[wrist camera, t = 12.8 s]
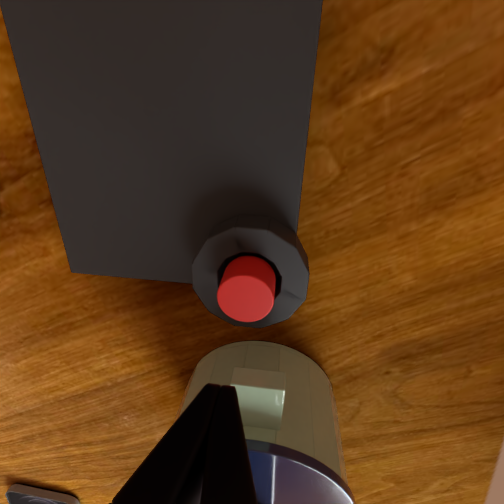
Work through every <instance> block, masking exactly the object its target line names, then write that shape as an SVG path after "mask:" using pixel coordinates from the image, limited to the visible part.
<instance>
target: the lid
mask: <svg viewBox="0 0 504 504" xmlns="http://www.w3.org/2000/svg"><path fill="white" fill-rule="evenodd" d="M246 444H247V449H248V454H249V460H250V465H251V470H252V476H253V481H254V486H255V491H256V497H257V502H258V504H356V502H355V499H354V496H353V494H352V492H351V490H350V488H349V487H348V485H347V484H346V483H345V481H344V480H343V479H342V478H341V477H340V476H339V475H338V474H337V473H336V472H335V471H333V470H332V469H330V468H329V467H328V466H326V465H325V464H323V463H322V462H320V461H318V460H316V459H315V458H313V457H311V456H309V455H306V454H304V453H302V452H300V451H297V450H294V449H291V448H288V447H285V446H282V445H278V444H274V443H270V442H264V441H259V440H252V439H246Z"/></svg>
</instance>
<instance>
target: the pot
mask: <svg viewBox="0 0 504 504" xmlns="http://www.w3.org/2000/svg"><path fill="white" fill-rule="evenodd" d="M207 383H212V384H219V385H220V386H222V385H229V386H235V388H236V391H237V396H238V402H239V407H240V412H241V418H242V423H243V428H244V433H245V439H252V440H259V441H264V442H270V443H274V444H278V445H282V446H285V447H288V448H291V449H294V450H297V451H300V452H302V453H304V454H306V455H309V456H311V457H313V458H315V459H316V460H318V461H320V462H322V463H323V464H325V465H326V466H328V467H329V468H330V469H332V470H333V471H335V472H336V473H337V474H338V475H339V476H340V477H341V478H342V479H343V480H344V481H345V483H346V484H347V485H348V482H347V476H346V469H345V462H344V456H343V449H342V442H341V435H340V429H339V422H338V415H337V409H336V402H335V398H334V395H333V390H332V387H331V383H330V381H329V379H328V377H327V376H326V374H325V373H324V371H323V370H322V369H321V368H320V367H319V366H318V365H317V364H316V363H315V362H314V361H313V360H312V359H310V358H309V357H307V356H306V355H304V354H303V353H301V352H299V351H297V350H295V349H292V348H289V347H287V346H284V345H280V344H276V343H271V342H265V341H242V342H235V343H231V344H227V345H224V346H221V347H219V348H217V349H215V350H213V351H211V352H210V353H208V354H207V355H206V356H204V357H203V358H202V359H201V360H200V361H199V362H198V364H197V365H196V367H195V368H194V371H193V373H192V376H191V378H190V379H189V381H188V384H187V387H186V390H185V392H184V395H183V398H182V401H181V404H180V406H179V409H178V412H177V415H176V418H175V420H174V423H175V421H176V420H177V419H178V418H179V416H180V415H181V414H182V413H183V412H184V410H185V409H186V408H187V407H188V405H189V404H190V403H191V402H192V400H193V399H194V398H195V397H196V395H197V394H198V393H199V392H200V390H201V389H202V388H203V387H204V386H205V385H206V384H207ZM174 423H173V424H174Z"/></svg>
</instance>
